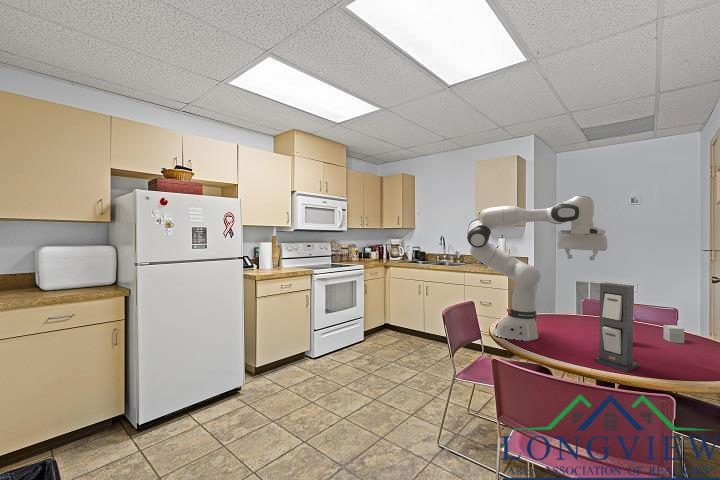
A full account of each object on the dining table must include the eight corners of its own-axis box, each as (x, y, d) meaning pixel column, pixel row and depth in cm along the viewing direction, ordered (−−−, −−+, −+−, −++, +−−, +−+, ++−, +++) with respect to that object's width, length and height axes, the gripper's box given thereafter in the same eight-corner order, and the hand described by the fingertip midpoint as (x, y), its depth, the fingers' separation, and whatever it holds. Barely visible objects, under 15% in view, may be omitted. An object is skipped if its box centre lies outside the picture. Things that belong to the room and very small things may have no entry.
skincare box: (684, 343, 167) (684, 328, 167) (669, 342, 169) (669, 327, 169) (677, 339, 173) (677, 325, 173) (662, 338, 175) (663, 324, 175)
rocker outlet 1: (620, 354, 138) (618, 331, 137) (604, 349, 144) (601, 327, 142) (622, 352, 139) (620, 329, 138) (606, 348, 145) (604, 326, 143)
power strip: (627, 372, 135) (628, 287, 134) (594, 361, 146) (595, 283, 145) (639, 366, 140) (640, 285, 139) (606, 357, 151) (607, 281, 150)
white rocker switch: (618, 320, 137) (621, 295, 138) (601, 316, 142) (604, 293, 143) (620, 320, 138) (623, 296, 139) (604, 317, 143) (607, 293, 144)
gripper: (555, 229, 167) (554, 257, 167) (604, 230, 151) (603, 261, 151) (561, 230, 171) (560, 257, 171) (609, 230, 154) (608, 260, 155)
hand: (580, 259), depth 161 cm, fingers open, 8 cm apart
